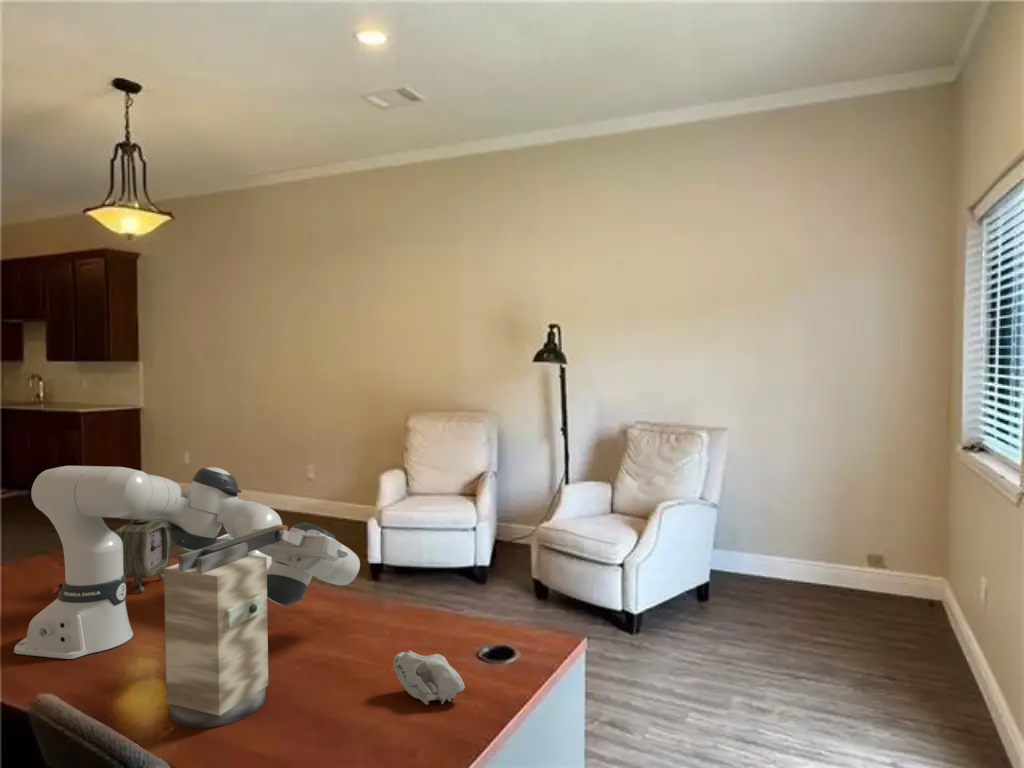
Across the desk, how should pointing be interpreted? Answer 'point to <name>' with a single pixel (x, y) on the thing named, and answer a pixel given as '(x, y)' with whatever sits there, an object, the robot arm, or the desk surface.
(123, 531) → the tabletop clock
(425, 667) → the skull
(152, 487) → the robot arm
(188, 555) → the level stand
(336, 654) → the desk surface
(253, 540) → the bar
